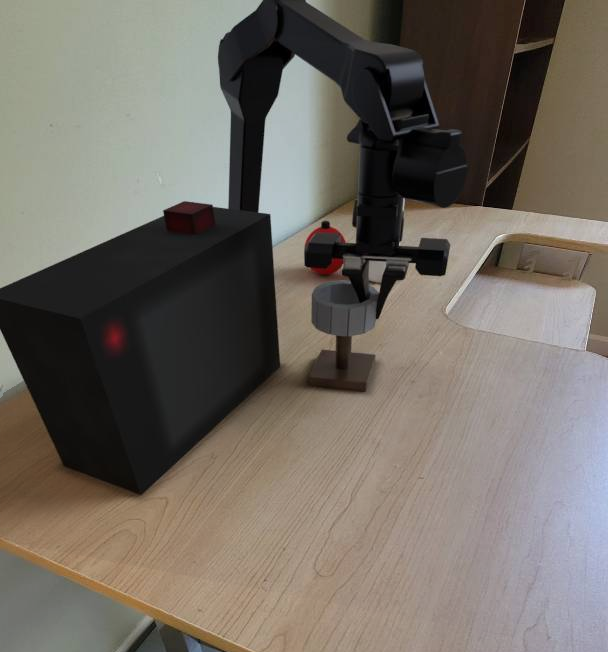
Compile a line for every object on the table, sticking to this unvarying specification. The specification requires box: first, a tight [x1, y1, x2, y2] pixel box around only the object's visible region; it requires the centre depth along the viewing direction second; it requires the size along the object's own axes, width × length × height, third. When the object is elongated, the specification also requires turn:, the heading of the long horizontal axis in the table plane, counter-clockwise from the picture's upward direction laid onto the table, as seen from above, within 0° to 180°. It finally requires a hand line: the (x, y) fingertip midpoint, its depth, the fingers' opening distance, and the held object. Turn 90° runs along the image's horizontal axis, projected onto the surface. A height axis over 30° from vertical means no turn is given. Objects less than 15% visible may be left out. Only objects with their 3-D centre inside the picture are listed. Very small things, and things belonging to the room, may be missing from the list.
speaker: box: [0, 200, 281, 496], centre depth 68 cm, size 15×35×24 cm, turn 152°
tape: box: [310, 279, 379, 337], centre depth 75 cm, size 9×9×4 cm
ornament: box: [303, 220, 347, 276], centre depth 108 cm, size 9×9×10 cm
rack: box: [308, 335, 377, 392], centre depth 79 cm, size 9×9×8 cm
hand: (372, 317), depth 75 cm, fingers closed on tape
